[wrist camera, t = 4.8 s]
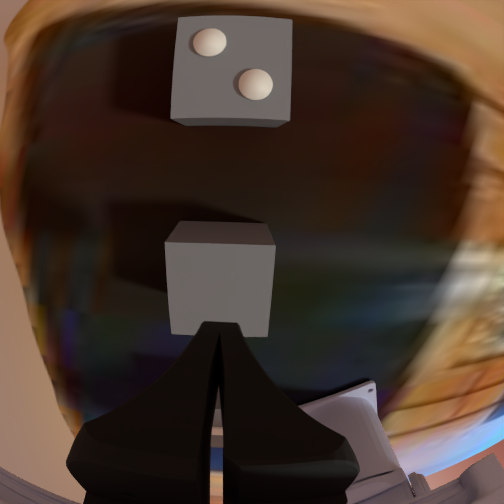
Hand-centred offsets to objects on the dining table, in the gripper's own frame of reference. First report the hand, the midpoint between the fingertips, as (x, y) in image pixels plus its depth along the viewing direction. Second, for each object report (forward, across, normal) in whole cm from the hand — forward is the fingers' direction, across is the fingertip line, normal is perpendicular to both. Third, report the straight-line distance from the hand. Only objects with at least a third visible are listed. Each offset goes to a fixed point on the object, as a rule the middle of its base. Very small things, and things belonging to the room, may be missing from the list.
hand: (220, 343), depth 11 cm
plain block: (+8, 0, 0) cm, 8 cm away
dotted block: (+8, 0, -11) cm, 13 cm away
